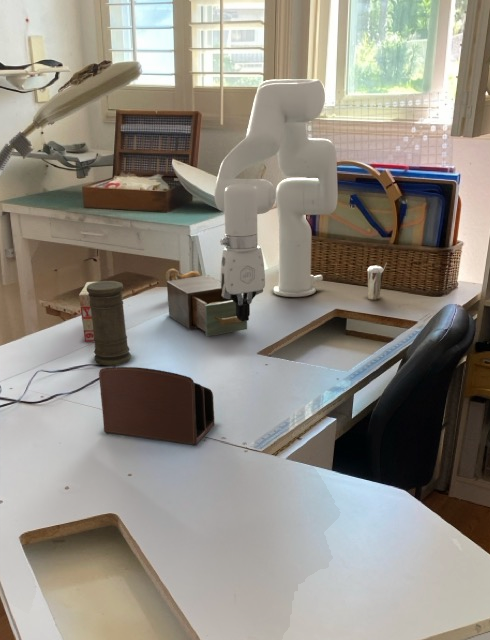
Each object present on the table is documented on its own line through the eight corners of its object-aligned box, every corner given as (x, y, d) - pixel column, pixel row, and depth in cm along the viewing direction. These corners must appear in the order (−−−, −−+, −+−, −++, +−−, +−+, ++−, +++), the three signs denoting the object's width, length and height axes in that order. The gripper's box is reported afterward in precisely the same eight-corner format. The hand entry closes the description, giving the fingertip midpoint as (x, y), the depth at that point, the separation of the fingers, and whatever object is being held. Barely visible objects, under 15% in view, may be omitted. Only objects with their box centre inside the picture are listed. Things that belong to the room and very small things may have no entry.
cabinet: (232, 322, 221) (231, 286, 216) (189, 329, 217) (187, 293, 212) (209, 309, 232) (208, 275, 227) (169, 316, 228) (166, 281, 223)
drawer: (255, 334, 209) (255, 303, 204) (215, 341, 205) (214, 310, 201) (225, 316, 223) (224, 287, 219) (186, 322, 219) (185, 293, 215)
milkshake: (385, 300, 234) (388, 264, 229) (367, 300, 235) (369, 265, 229) (383, 295, 238) (385, 260, 233) (364, 296, 238) (366, 261, 233)
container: (115, 368, 193) (107, 291, 183) (86, 362, 197) (77, 287, 187) (138, 357, 199) (132, 282, 190) (110, 351, 203) (102, 278, 194)
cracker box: (97, 317, 229) (92, 273, 222) (119, 317, 229) (114, 272, 222) (84, 342, 211) (78, 294, 204) (108, 341, 210) (103, 293, 204)
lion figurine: (175, 302, 239) (173, 271, 235) (162, 299, 243) (160, 268, 238) (210, 292, 248) (209, 261, 244) (198, 289, 252) (196, 259, 247)
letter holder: (196, 446, 154) (192, 375, 147) (103, 433, 161) (95, 364, 153) (215, 425, 162) (212, 357, 155) (126, 414, 168) (119, 348, 161)
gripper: (219, 248, 185) (222, 328, 194) (277, 240, 190) (277, 318, 200) (205, 242, 191) (209, 320, 200) (262, 235, 196) (262, 311, 206)
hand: (242, 319), depth 200 cm, fingers closed
